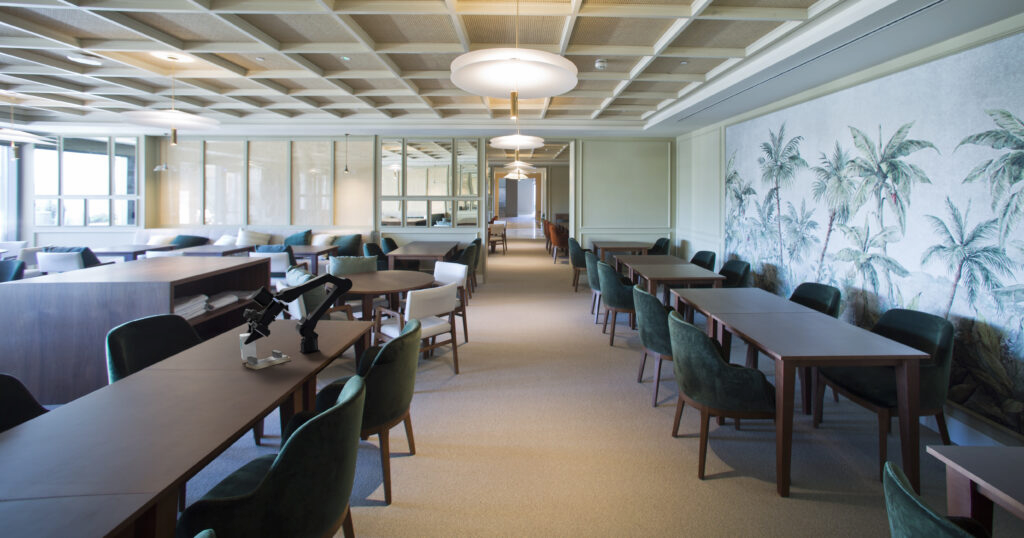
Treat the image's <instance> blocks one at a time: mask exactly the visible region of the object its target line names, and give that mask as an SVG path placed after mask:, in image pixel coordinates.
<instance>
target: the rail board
mask: <svg viewBox="0 0 1024 538" xmlns="http://www.w3.org/2000/svg"><path fill="white" fill-rule="evenodd" d="M271 355H272V356H269V357H265V358H261V359H258V357H257V358H255V357H252V356H249V357H247V360H246V361H247V363H245V367H246V368H250V369H253V370H261V369H265V368H267V367H272V366H275V365H278V364H281V363H285V362H289V361H291V356H289V355H286V354H283V351H281V350H276V349H274V350H272V351H271Z"/></svg>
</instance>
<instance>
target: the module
mask: <svg viewBox="0 0 1024 538" xmlns="http://www.w3.org/2000/svg"><path fill="white" fill-rule="evenodd" d="M250 334H251V333H246V332H245V333H240V334H239V348H240V356H241V359H242V360H243V361H247V357H249V356H252V357H255V358H257V359H258V357H257V346H256V340H255V341H253V342H251V343H249V344H247V345H245V344H244V343H245V341H246V339H247V338H248V336H249V335H250Z"/></svg>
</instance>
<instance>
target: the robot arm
mask: <svg viewBox="0 0 1024 538" xmlns="http://www.w3.org/2000/svg"><path fill="white" fill-rule="evenodd" d="M327 283H330V284H332V288H331V290H330V292H328V294H327V295H326V296H325V298H323V299H322V301H321V302H320V303H319V304H318V305H317V306H316V308H315V309H313V311H312V312H311V313H310V314H309V315H308V316H305V315H302V316H301V318H300V319H299V320H297V322H296V325H295V332H296V333H297V334H298V335H299V336H300V337H301V339H300V350H299V353H301V354H305V355H309V354H313V353H318V352H320V351H321V349H320V348H319V343H318V342H319V341H318V340H319V333H317V332H316V331H315V329H316V327H317V325H318V323H319V321H320V320H321V319H322V317H323V316H324V315H325V314H326V313H327V311H328V310H329V309H330V308H331V307H332V306H333V305H334V304H335V303H336V301H337V300H338V299H339V298H340V297H342V296H344V295H345V294H347V293H348V292H349V291H351V289H352V288H353V286H354V285H353V281H352V280H351V279H350V278H348V277H345V276H340V277H338V276H336V275H332V274H331V273H328V272H323V273H321V274H320V275H317V276H316V277H314V278H312V279H309V280H307V281H304V282H302V283H299V284H297V285H291V286H288V287H284V288H281V289H280V290H279V291H276V292H273V293H272V292H270V291H269V290H268V289H267V288H266V287H265V286H264V285H263V286H261V287H260V288H259V289H257V290H256V291H254V293H253V294H252V295H251V297H250V299H251V300H252V301H254V302H255V303H257V304H258V305H259V306H261V308H264V307H266V308H264V310H260V311H259V312H258V311H257V310H256V309H249V308H245V310H244V312H243V315H242V316H243V317H244V318H246V319H247V320H246V322H247V331H246V332H245V334H246V333H251V334H250V335H249V336H248V338H247V339H246V341H245V343H244V344H245V345H247V344H249V343H251V342H253V341H255V342H256V341H257V340H259V339H262V338H265V337H266V338H269V336H270V335H271V334H272V333H271V330H270V327H269V326H271V324H272V323H274V322H276V318H277V317H278V316H279V315H280V314H281V313H282V312H283V311H284V310H285V311H286V312H290V309H289V305H290V304H291V303H293V302H294V301H296V300H297V299H298V298H300V297H301V296H302V295H304V294H305V293H307V292H309V291H312V290H314V289H316V288H318V287H321V286H323V285H325V284H327ZM276 300H278V301H276ZM283 302H284V303H283ZM285 303H286V304H285Z"/></svg>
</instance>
